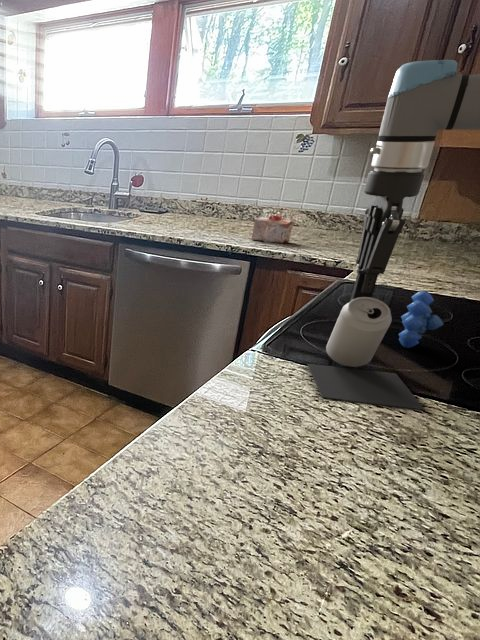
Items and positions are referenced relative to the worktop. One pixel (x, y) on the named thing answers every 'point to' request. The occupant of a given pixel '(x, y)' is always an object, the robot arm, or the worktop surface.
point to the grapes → (418, 319)
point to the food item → (272, 229)
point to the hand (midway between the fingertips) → (358, 307)
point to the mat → (363, 386)
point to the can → (359, 331)
